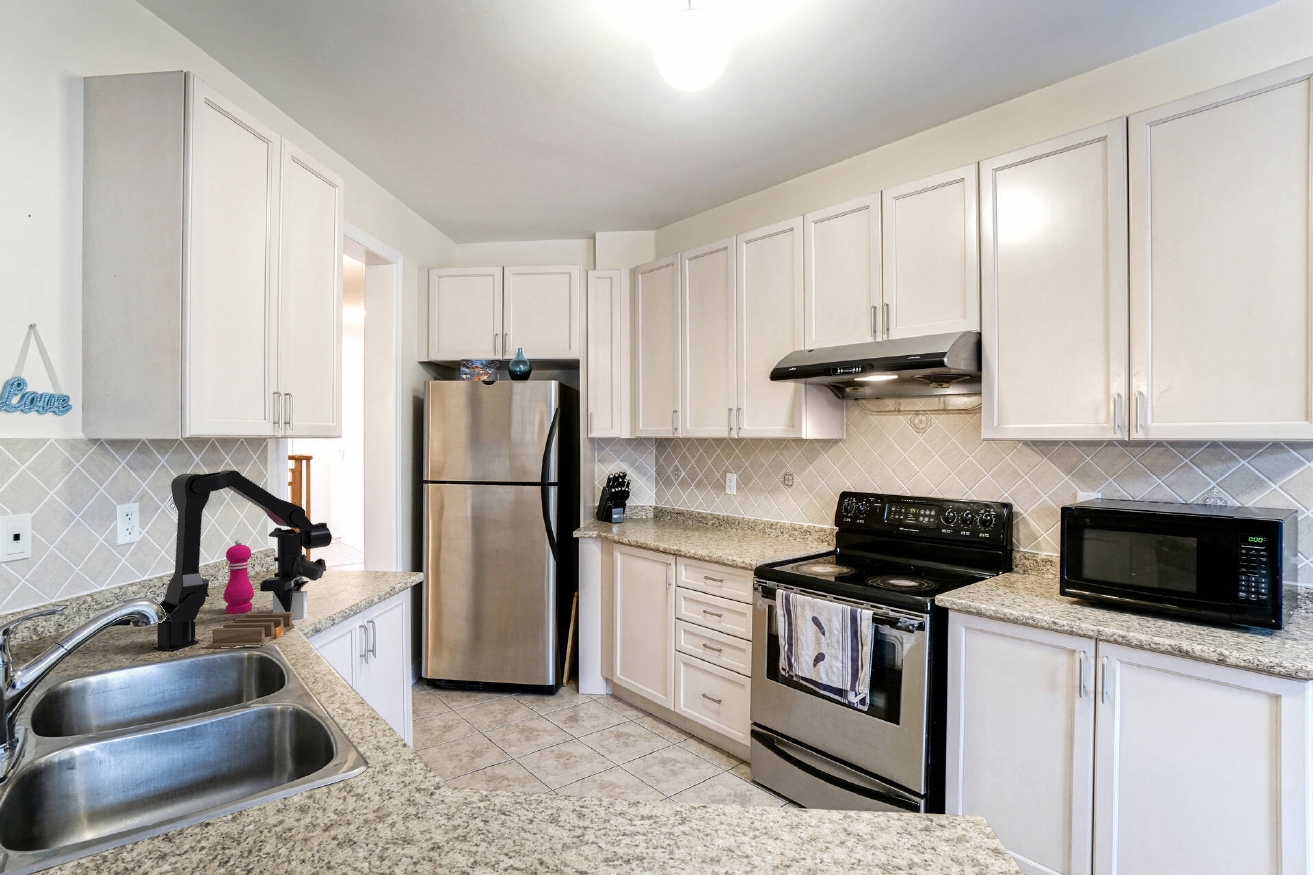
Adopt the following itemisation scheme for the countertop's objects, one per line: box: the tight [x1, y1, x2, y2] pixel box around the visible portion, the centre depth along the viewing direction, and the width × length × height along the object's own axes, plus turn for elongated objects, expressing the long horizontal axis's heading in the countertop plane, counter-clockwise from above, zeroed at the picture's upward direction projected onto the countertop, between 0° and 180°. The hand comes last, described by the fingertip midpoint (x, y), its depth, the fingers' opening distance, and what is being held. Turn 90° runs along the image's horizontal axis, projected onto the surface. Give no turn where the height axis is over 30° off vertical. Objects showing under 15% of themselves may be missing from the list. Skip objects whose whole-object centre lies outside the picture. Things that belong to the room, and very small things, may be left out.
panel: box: [272, 590, 308, 620], centre depth 175 cm, size 2×8×7 cm, turn 93°
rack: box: [209, 612, 295, 650], centre depth 158 cm, size 16×12×4 cm
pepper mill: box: [222, 538, 255, 615], centre depth 183 cm, size 7×7×20 cm
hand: (290, 610), depth 175 cm, fingers closed on panel, 2 cm apart
